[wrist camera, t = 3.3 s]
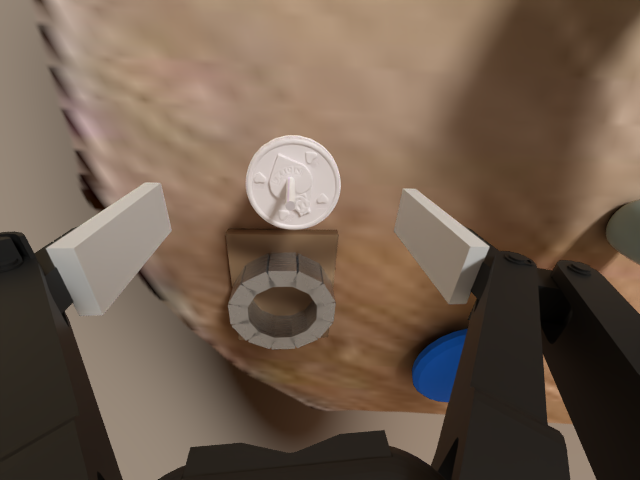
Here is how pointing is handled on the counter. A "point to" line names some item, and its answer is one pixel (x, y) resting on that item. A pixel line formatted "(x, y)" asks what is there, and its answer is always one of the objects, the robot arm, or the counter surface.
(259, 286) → the ring
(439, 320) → the counter surface
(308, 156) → the smoothie
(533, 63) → the counter surface
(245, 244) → the board
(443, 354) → the blue funnel
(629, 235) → the cup
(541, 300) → the robot arm
